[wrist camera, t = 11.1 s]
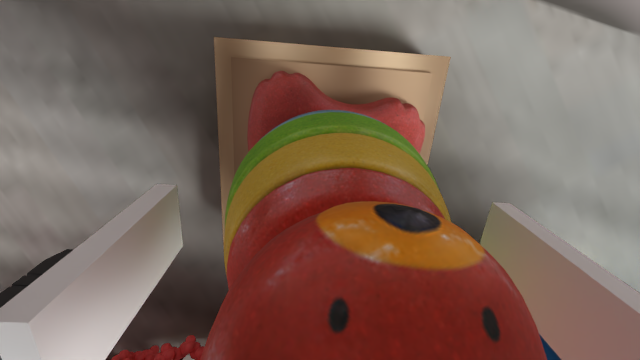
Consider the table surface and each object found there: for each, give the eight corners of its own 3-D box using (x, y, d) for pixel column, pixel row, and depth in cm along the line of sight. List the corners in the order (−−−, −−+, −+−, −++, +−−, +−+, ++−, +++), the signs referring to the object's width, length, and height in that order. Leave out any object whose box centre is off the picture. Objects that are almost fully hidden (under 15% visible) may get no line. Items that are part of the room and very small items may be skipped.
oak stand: (235, 219, 26) (222, 247, 22) (230, 41, 21) (212, 36, 17) (394, 227, 27) (409, 255, 23) (426, 58, 22) (452, 56, 18)
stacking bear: (430, 106, 19) (1295, 425, 2) (380, 242, 22) (582, 756, 6) (259, 62, 18) (-536, 58, 1) (234, 212, 21) (-41, 759, 5)
